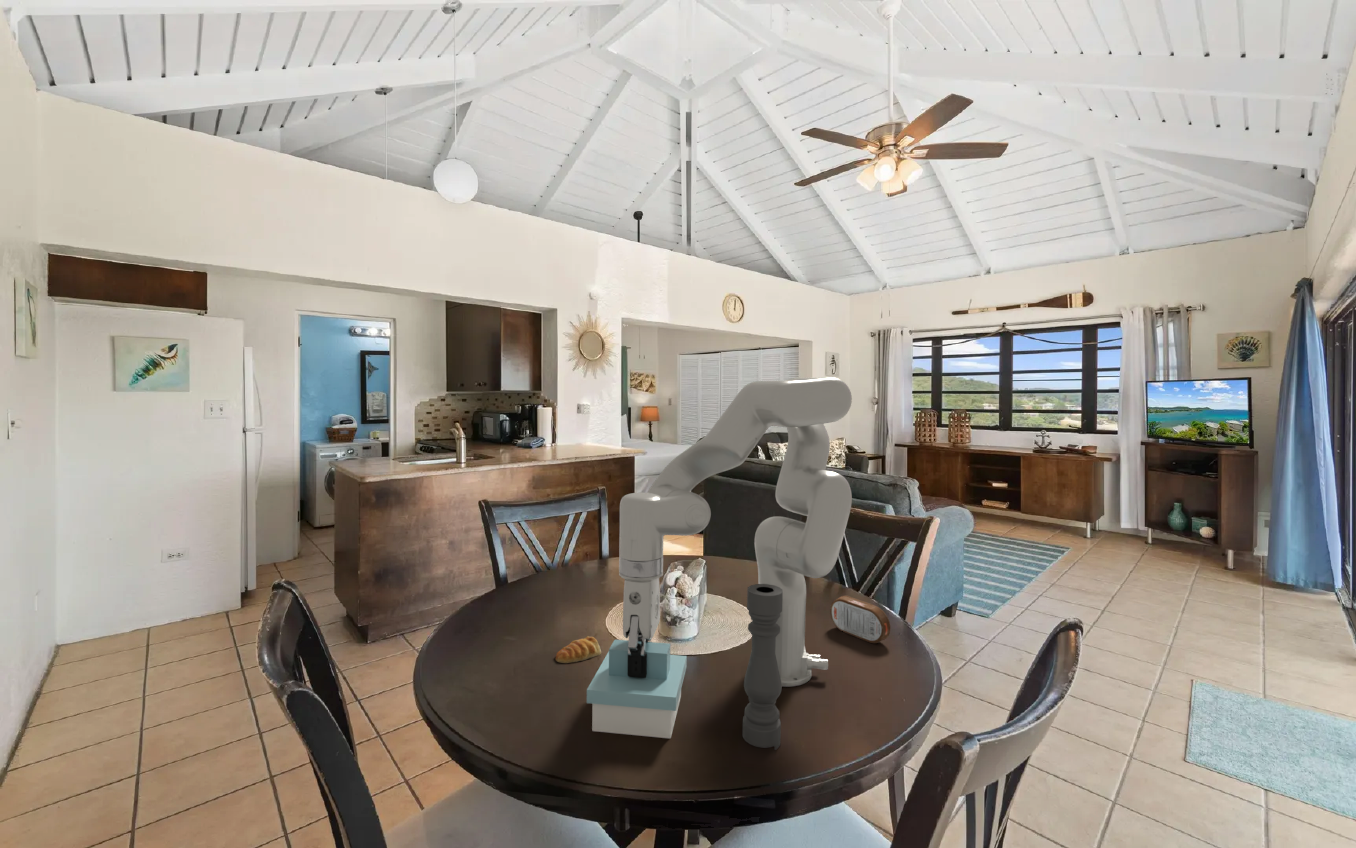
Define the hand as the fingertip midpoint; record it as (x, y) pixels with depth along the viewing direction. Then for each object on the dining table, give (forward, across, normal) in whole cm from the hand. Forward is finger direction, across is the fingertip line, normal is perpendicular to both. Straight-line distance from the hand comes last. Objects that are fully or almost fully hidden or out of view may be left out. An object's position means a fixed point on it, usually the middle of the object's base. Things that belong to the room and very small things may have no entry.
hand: (639, 669), depth 99 cm
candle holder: (+9, -4, -21) cm, 23 cm away
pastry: (+9, +20, +17) cm, 28 cm away
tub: (+8, 0, 0) cm, 8 cm away
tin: (+9, +42, -44) cm, 61 cm away
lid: (+3, 0, 0) cm, 3 cm away
